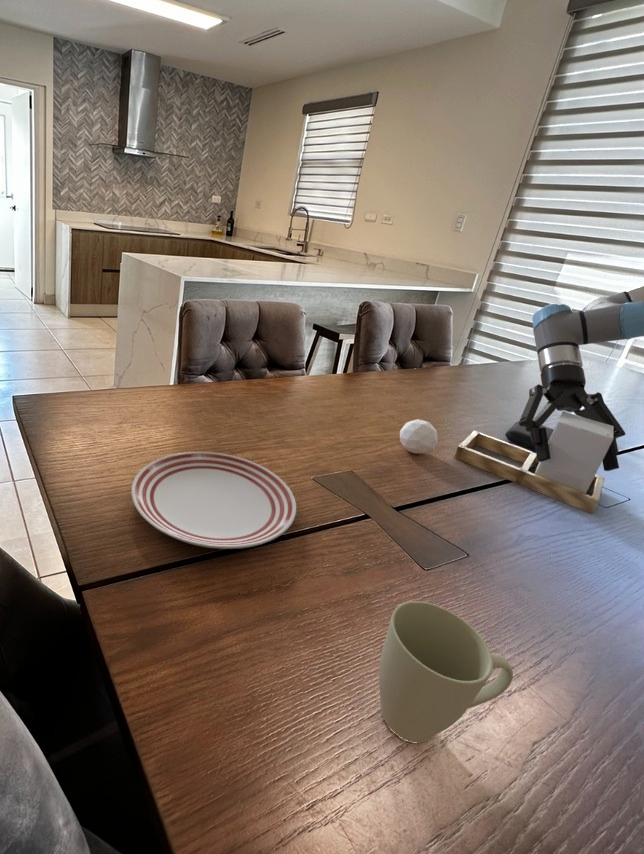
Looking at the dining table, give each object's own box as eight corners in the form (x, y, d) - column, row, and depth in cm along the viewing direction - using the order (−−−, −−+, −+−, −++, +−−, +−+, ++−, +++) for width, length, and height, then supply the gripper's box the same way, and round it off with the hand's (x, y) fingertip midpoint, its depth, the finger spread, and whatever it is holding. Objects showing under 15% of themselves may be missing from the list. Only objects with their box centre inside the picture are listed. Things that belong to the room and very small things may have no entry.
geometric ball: (419, 464, 108) (448, 450, 101) (391, 450, 106) (418, 435, 100) (418, 437, 112) (445, 422, 106) (391, 423, 111) (416, 407, 105)
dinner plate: (99, 489, 81) (100, 473, 79) (216, 450, 98) (218, 435, 96) (203, 594, 62) (206, 575, 61) (325, 523, 79) (330, 506, 78)
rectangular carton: (584, 488, 101) (616, 425, 95) (581, 504, 94) (615, 438, 88) (535, 469, 106) (562, 409, 100) (528, 484, 99) (558, 420, 94)
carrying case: (550, 458, 112) (562, 442, 122) (556, 447, 111) (567, 431, 121) (501, 440, 119) (516, 425, 128) (505, 429, 117) (520, 416, 127)
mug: (431, 797, 43) (476, 712, 38) (343, 705, 50) (372, 624, 46) (484, 731, 49) (529, 651, 45) (400, 657, 57) (431, 581, 52)
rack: (598, 489, 101) (604, 477, 99) (592, 514, 91) (599, 501, 90) (470, 440, 116) (474, 430, 115) (453, 457, 107) (458, 446, 106)
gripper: (604, 384, 106) (624, 477, 98) (493, 370, 107) (503, 460, 99) (634, 370, 99) (657, 469, 91) (514, 355, 100) (527, 451, 92)
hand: (577, 464), depth 95 cm, fingers open, 13 cm apart
